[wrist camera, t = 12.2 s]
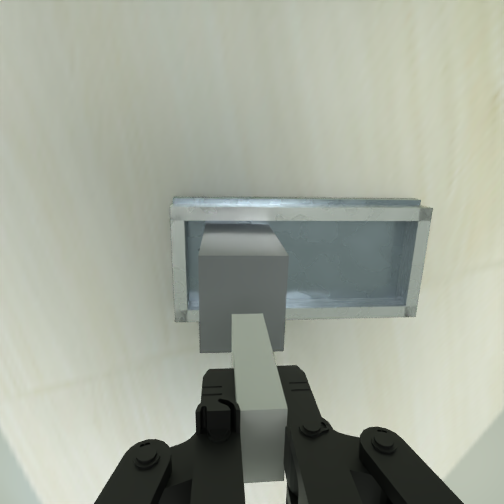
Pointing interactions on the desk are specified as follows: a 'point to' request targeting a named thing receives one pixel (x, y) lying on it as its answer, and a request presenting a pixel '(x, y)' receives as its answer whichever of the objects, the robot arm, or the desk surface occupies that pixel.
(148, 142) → the desk surface
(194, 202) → the shallow grey tray
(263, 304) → the block
